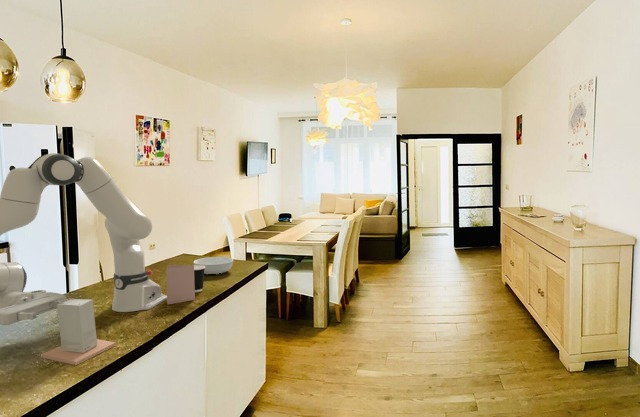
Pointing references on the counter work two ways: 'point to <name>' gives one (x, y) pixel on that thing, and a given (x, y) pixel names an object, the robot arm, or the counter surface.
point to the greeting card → (180, 283)
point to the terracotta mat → (77, 353)
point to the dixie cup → (198, 277)
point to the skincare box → (77, 325)
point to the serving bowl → (215, 264)
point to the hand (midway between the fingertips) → (49, 311)
